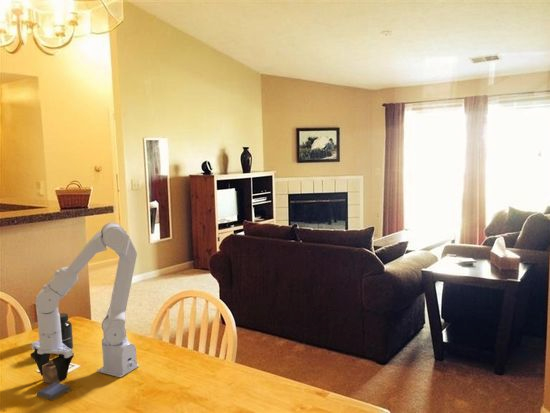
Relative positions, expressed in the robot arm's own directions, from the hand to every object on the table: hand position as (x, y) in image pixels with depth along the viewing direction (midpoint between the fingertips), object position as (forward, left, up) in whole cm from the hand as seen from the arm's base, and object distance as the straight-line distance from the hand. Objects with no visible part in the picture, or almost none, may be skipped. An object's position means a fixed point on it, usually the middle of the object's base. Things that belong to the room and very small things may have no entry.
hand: (53, 376), depth 133 cm
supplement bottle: (+16, -16, -2) cm, 23 cm away
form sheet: (+5, -6, -1) cm, 8 cm away
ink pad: (-6, +4, -1) cm, 7 cm away
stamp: (0, 0, -2) cm, 2 cm away
